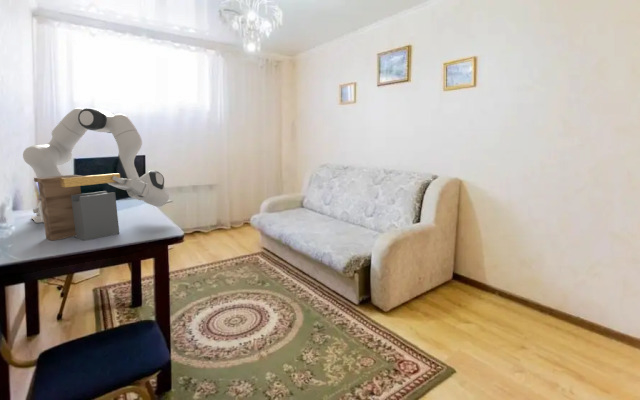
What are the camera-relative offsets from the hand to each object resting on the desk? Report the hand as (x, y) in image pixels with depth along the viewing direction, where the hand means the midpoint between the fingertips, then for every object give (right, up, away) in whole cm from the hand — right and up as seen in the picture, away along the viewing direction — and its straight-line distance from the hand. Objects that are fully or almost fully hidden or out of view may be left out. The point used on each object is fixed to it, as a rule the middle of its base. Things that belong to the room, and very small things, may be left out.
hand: (109, 177), depth 156 cm
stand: (-17, -26, -3) cm, 31 cm away
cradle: (-4, -26, -2) cm, 26 cm away
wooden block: (-4, -3, -6) cm, 8 cm away
